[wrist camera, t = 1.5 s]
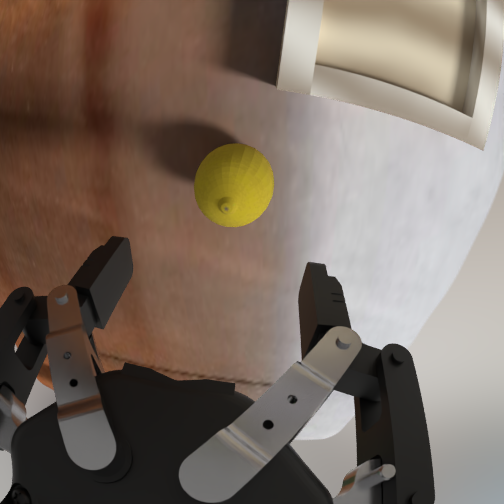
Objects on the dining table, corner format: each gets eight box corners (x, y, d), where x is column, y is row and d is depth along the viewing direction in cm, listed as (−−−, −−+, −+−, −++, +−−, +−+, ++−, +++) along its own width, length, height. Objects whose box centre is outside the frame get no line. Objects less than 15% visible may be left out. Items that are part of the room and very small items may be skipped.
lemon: (197, 146, 23) (165, 182, 16) (261, 124, 21) (256, 150, 15) (221, 203, 26) (203, 256, 19) (282, 185, 24) (285, 235, 18)
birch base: (297, -75, 11) (303, -105, 6) (468, -13, 11) (503, -19, 6) (275, 85, 20) (276, 89, 15) (448, 132, 20) (483, 150, 16)
